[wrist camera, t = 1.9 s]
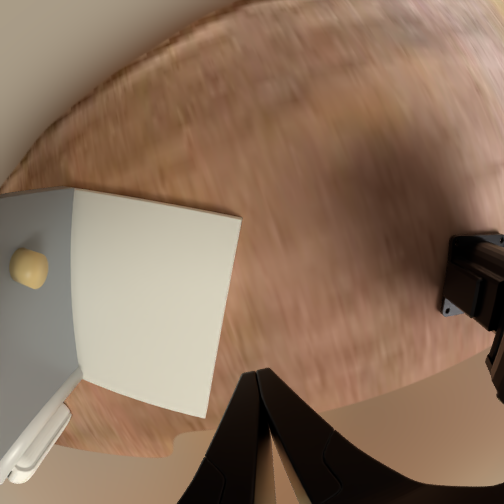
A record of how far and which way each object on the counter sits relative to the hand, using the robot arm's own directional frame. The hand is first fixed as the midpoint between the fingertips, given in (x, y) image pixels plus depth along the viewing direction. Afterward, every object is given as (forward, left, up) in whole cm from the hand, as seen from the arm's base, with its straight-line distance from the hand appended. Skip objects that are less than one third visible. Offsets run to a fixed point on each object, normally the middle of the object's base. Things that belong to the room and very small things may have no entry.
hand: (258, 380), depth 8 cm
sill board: (+10, +3, -11) cm, 16 cm away
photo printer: (+27, +19, -12) cm, 35 cm away
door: (+15, +2, -10) cm, 18 cm away
